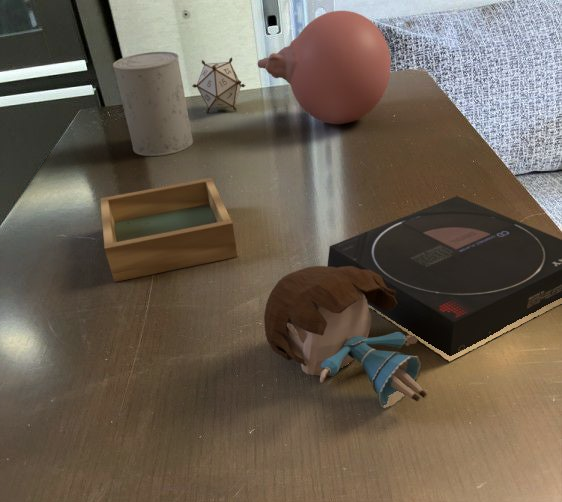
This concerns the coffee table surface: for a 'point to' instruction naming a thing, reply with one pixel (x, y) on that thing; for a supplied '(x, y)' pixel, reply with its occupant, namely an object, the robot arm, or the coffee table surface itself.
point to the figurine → (339, 327)
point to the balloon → (335, 67)
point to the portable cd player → (458, 271)
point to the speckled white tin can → (154, 103)
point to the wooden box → (166, 229)
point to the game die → (219, 85)
